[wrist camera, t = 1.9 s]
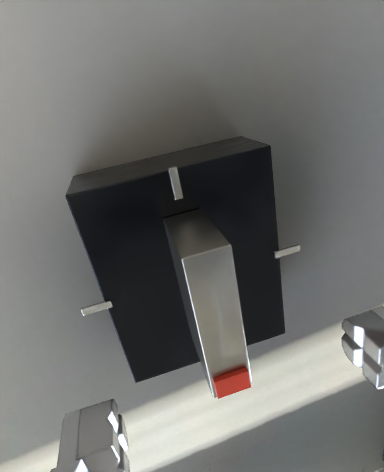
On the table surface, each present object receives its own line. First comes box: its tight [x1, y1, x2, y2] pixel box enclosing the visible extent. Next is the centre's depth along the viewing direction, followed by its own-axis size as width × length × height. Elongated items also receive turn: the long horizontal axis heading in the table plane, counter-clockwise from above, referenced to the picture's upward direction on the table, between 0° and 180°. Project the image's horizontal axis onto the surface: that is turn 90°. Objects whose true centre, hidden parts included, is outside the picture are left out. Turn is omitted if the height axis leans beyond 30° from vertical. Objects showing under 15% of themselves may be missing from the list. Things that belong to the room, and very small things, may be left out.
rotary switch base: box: [66, 136, 300, 383], centre depth 18 cm, size 11×11×4 cm
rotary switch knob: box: [163, 209, 252, 399], centre depth 14 cm, size 7×2×4 cm, turn 11°
